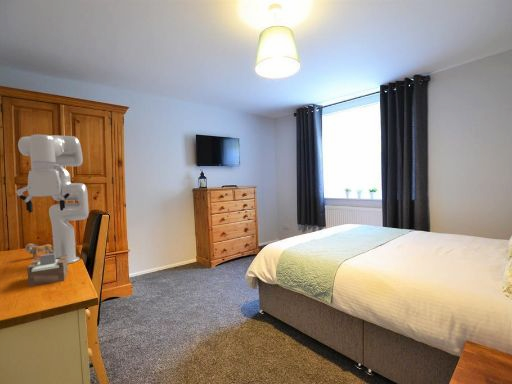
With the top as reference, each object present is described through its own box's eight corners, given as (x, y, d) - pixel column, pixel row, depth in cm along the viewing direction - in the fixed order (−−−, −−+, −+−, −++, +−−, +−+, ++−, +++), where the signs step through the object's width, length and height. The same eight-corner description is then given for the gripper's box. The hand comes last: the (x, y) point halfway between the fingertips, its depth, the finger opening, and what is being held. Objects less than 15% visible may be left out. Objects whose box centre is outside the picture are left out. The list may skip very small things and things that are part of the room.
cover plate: (38, 263, 120) (37, 253, 120) (63, 260, 125) (62, 249, 125) (31, 271, 109) (30, 259, 109) (59, 267, 114) (58, 256, 113)
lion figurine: (28, 260, 149) (27, 244, 148) (24, 259, 151) (23, 243, 151) (58, 254, 161) (57, 239, 161) (53, 253, 164) (53, 238, 164)
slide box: (35, 276, 121) (34, 259, 121) (67, 271, 127) (66, 255, 127) (28, 286, 109) (27, 267, 108) (64, 280, 115) (63, 262, 114)
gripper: (71, 167, 110) (74, 208, 111) (17, 168, 102) (20, 212, 102) (70, 166, 104) (72, 210, 105) (11, 166, 95) (14, 214, 96)
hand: (46, 211), depth 103 cm, fingers open, 9 cm apart
